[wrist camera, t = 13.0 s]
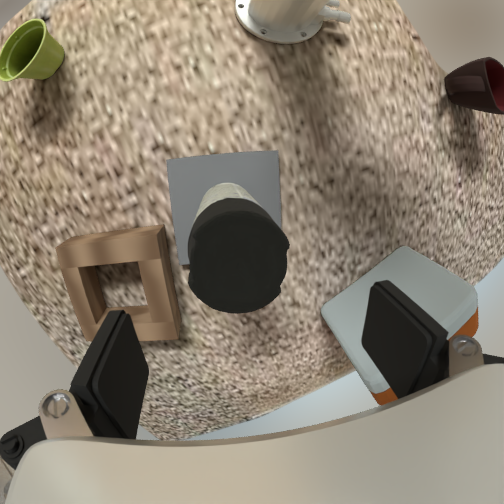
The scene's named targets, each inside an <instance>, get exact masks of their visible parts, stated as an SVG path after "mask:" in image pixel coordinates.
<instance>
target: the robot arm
mask: <svg viewBox="0 0 504 504" xmlns="http://www.w3.org/2000/svg"><path fill="white" fill-rule="evenodd" d="M326 5H327V6H330V7H335V8H338V7H339V1H338V0H236V1H235V13H236V17H237V19H238V20H239V22H240V23H241V25H242V26H243V27H244V28H245V29H246V30H248V31H249V32H250V33H251V34H253V35H255V36H257V37H258V38H261V39H263V40H266V41H270V42H273V43H280V44H294V43H300V42H303V41H306V40H308V39H310V38H311V37H313V36H314V35H315V34H316V33H317V32H318V31H319V29H320V28H321V26H322V24H323V21H328V20H335V21H337V22H342V23H349V22H350V19H351V16H350V13H348V12H343V11H338V10H337V11H336V10H331V9H330V8H329V7H326ZM262 33H264V34H262ZM302 36H303V37H302ZM448 333H449V332H448V331H447V330H446V329H445V328H443V327H442V326H441V325H440V324H439V323H438V322H437V321H436V320H435V319H434V318H432V317H431V316H430V315H429V314H428V313H427V312H426V311H425V310H423V309H422V308H421V307H420V306H419V305H418V304H417V303H415V302H414V301H413V300H412V299H411V298H410V297H408V296H407V295H406V294H405V293H404V292H402V291H401V290H400V289H399V288H398V287H397V286H395V285H394V284H393V283H392V282H391V281H389V280H383V281H378V282H375V283H374V285H373V286H372V287H371V288H370V293H369V299H368V305H367V311H366V317H365V323H364V328H363V333H362V338H361V343H362V346H363V348H364V350H365V351H366V352H367V354H368V355H369V357H370V358H371V360H372V361H373V362H374V364H375V365H376V367H377V368H378V370H379V371H380V373H381V374H382V376H383V377H384V379H385V380H386V382H387V383H388V384H389V386H390V387H391V389H392V390H393V392H394V393H395V395H396V396H397V398H398V400H395V401H392V402H390V403H387V404H384V405H381V406H379V407H376V408H373V409H370V410H367V411H364V412H360V413H357V414H354V415H351V416H347V417H344V418H341V419H337V420H333V421H329V422H325V423H321V424H317V425H312V426H308V427H304V428H298V429H293V430H288V431H283V432H277V433H271V434H264V435H256V436H248V437H239V438H229V439H216V440H194V441H161V440H136V435H137V429H138V424H139V418H140V413H141V408H142V403H143V399H144V394H145V389H146V385H147V380H148V376H149V368H148V365H147V362H146V359H145V357H144V354H143V351H142V348H141V346H140V343H139V340H138V337H137V334H136V331H135V328H134V325H133V322H132V319H131V316H130V314H129V313H127V314H126V312H125V311H124V310H111V311H109V312H108V314H107V316H106V317H105V319H104V321H103V323H102V324H101V326H100V328H99V330H98V331H97V333H96V335H95V337H94V339H93V341H92V343H91V344H90V346H89V348H88V350H87V352H86V354H85V356H84V358H83V360H82V362H81V364H80V366H79V368H78V370H77V372H76V374H75V376H74V378H73V380H72V382H71V387H70V390H69V391H67V390H63V389H58V390H54V391H51V392H49V393H48V394H46V395H45V396H44V397H43V398H42V400H41V401H40V404H39V408H38V409H39V415H40V416H38V417H36V418H34V419H32V420H30V421H28V422H26V423H24V424H23V425H20V426H19V427H17V428H15V429H13V430H11V431H9V432H7V433H6V434H4V435H3V436H2V438H1V440H0V504H504V358H502V357H497V356H492V355H487V354H483V353H482V348H481V345H480V344H479V342H478V341H477V340H475V339H474V338H472V337H470V336H467V335H455V336H453V337H452V338H451V339H450V341H448V340H447V336H448Z"/></svg>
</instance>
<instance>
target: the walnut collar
mask: <svg viewBox="0 0 504 504" xmlns="http://www.w3.org/2000/svg"><path fill="white" fill-rule="evenodd" d="M56 252H57V256H58V260H59V264H60V267H61V271H62V274H63V278H64V281H65V284H66V287H67V290H68V293H69V296H70V299H71V302H72V305H73V308H74V311H75V313H76V316H77V319H78V321H79V324H80V326H81V329H82V331H83V334H84V336H85V339H86V341H93V339H94V337H95V335H96V333H97V331H98V330H99V328H100V326H101V324H102V323H103V321H104V319H105V317H106V316H107V314H108V312H109V311H111V310H124V311H125V312H126V314H127V313H129V314H130V316H131V319H132V322H133V325H134V328H135V331H136V334H137V337H138V340H139V341H155V340H174V339H178V338H179V331H180V325H181V316H180V311H179V306H178V302H177V297H176V292H175V287H174V281H173V276H172V270H171V265H170V259H169V253H168V247H167V240H166V234H165V227H164V225H156V226H148V227H140V228H132V229H124V230H117V231H110V232H103V233H96V234H89V235H82V236H75V237H71V238H69V239H68V240H66V241H65V242H63V243H62V244H60V245H59V246H57V247H56ZM133 261H138V265H139V270H140V274H141V279H142V283H143V287H144V291H145V295H146V299H147V303H148V305H146V306H130V307H111V308H107V307H106V304H105V301H104V297H103V294H102V291H101V287H100V284H99V280H98V277H97V273H96V269H95V265H104V264H114V263H123V262H133Z"/></svg>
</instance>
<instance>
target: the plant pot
mask: <svg viewBox="0 0 504 504" xmlns="http://www.w3.org/2000/svg"><path fill="white" fill-rule="evenodd" d="M63 58H64V49H63V47H62V46H61V45H60V44H59V43H58V42H57V41H56V40H55V39H54V38H53V37H52V36H51V35H50V34H49V33H48V30H47V27H46V24H45V22H44V21H43V20H41V19H32V20H29V21H27V22H25V23H24V24H22V25H21V26H20V27H19V28H17V29H16V30H15V31H14V32H13V33H12V35H11V36H10V37H9V38H8V40H7V41H6V43H5V44H4V46H3V48H2V50H1V52H0V80H2V81H5V82H8V81H12V80H14V79H18V78H29V79H40V80H43V79H46V78H49V77H50V76H52V75H53V74H54V73H55V71H56V70H57V68H58V67H59V66H60V65H61V63H62V61H63Z"/></svg>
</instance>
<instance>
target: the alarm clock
mask: <svg viewBox="0 0 504 504" xmlns="http://www.w3.org/2000/svg"><path fill="white" fill-rule="evenodd" d="M383 280H389V281H391V282H392V283H393V284H394V285H395V286H397V287H398V288H399V289H400V290H401V291H402V292H404V293H405V294H406V295H407V296H408V297H410V298H411V299H412V300H413V301H414V302H415V303H417V304H418V305H419V306H420V307H421V308H422V309H423V310H425V311H426V312H427V313H428V314H429V315H430V316H431V317H432V318H434V319H435V320H436V321H437V322H438V323H439V324H440V325H441V326H442V327H443V328H445V329H446V330H447V331H448V332H449V333H448V336H447V340H448V341H450V339H451V338H452V337H453V336H455V335H467V336H470V337H473V336H474V335H475V333H476V331H477V329H478V299H477V292H476V290H475V288H474V287H473V286H472V285H471V284H469V283H468V282H466V281H465V280H463V279H462V278H460V277H458V276H457V275H455V274H454V273H452V272H450V271H449V270H447V269H445V268H444V267H442V266H441V265H439V264H437V263H435V262H434V261H432V260H430V259H429V258H427V257H425V256H424V255H422V254H420V253H418V252H417V251H415V250H413V249H411V248H409V247H408V246H402V247H400V248H397V249H396V250H395V251H394V252H393V253H391V254H390V255H389V256H388V257H386V258H385V259H384V260H383V261H381V262H380V263H379V264H378V265H376V266H375V267H374V268H372V269H371V270H370V271H369V272H367V273H366V274H365V275H363V276H362V277H361V278H359V279H358V280H357V281H355V282H354V283H353V284H351V285H350V286H349V287H347V288H346V289H345V290H343V291H342V292H340V293H339V294H338V295H336V296H335V297H333V298H332V299H331V300H329V301H328V302H326V303H325V304H324V305H323V307H322V308H321V315H322V317H323V318H324V320H325V321H326V323H327V325H328V326H329V328H330V329H331V331H332V332H333V334H334V336H335V337H336V339H337V340H338V342H339V343H340V345H341V347H342V348H343V350H344V351H345V353H346V355H347V356H348V358H349V359H350V361H351V363H352V364H353V366H354V367H355V369H356V371H357V372H358V374H359V375H360V377H361V379H362V380H363V382H364V384H365V385H366V386H367V388H368V389H369V391H370V392H371V394H372V395H373V397H374V398H375V400H376V401H377V403H378V404H379V405H384V404H387V403H390V402H392V401H395V400H398V398H397V396H396V395H395V393H394V392H393V390H392V389H391V387H390V386H389V384H388V383H387V382H386V380H385V379H384V377H383V376H382V374H381V373H380V371H379V370H378V368H377V367H376V365H375V364H374V362H373V361H372V360H371V358H370V357H369V355H368V354H367V352H366V351H365V350H364V348H363V346H362V343H361V338H362V333H363V328H364V323H365V317H366V311H367V305H368V299H369V293H370V288H371V287H372V286H373V285H374V283H375V282H378V281H383Z"/></svg>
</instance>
